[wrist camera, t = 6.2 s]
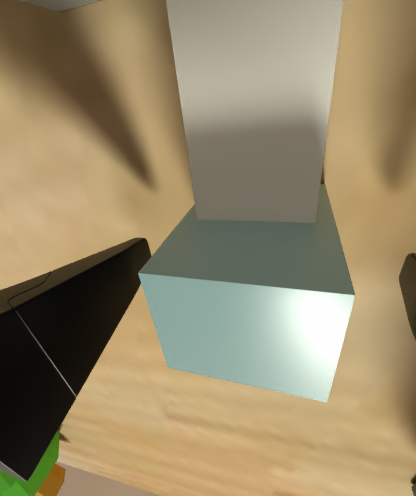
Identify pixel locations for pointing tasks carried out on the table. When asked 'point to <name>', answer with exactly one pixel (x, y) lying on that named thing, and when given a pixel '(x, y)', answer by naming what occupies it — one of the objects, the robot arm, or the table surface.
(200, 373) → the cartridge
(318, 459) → the table surface
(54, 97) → the table surface
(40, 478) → the decorative tree
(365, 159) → the table surface
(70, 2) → the housing
